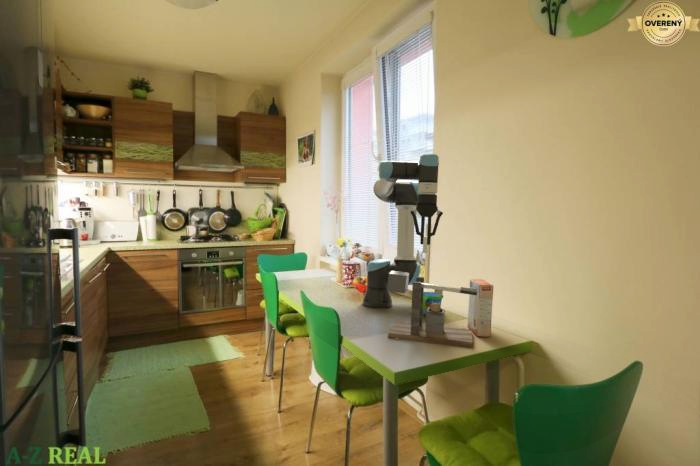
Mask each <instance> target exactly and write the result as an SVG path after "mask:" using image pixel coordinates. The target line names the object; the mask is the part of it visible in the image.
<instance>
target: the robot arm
mask: <svg viewBox="0 0 700 466" xmlns="http://www.w3.org/2000/svg"><path fill="white" fill-rule="evenodd" d="M439 161H440V160H439V156H438V155H437V154H434V153H424V154H421V155H419V160H418V161H405V160H404V161H403V160H402V161H399V160H381V161H380V162H379V166H378V180H376V181H375V182H374V185H373V193H374V195H375V197H377V199H378V200H380V201H382V202H385V203H390V204H394V207H395V208H396V209H397V234H396V235H397V241H396V243H397V244H396V246H397V247H396V256H395V257H394V259H393V261H391V260H390V259H389V258H388V259H387V258H386V259H385V258H383V259H382V258H380V259H374V260H370V261H369V262H368V263H367V269H366V273H367V275H366V290H365V294H364V295H363V299H362V305H364V306H365V307H369V308H374V309H375V308H376V309H377V308H378V309H384V308H390V307H392V306H393V299H392V295H391V291H387V286H388V276H389V273H390V272H391V271H392V270H393V271H400V272H407V273H409V281H408V286H413V282H416V277H420V275H421V267H420V266H421V265H420V263H419V262H418V261H417V258H416V257H415V255H414V253H415V252H414V251H415V234H416V235H418V236H419V237H420V245H422V254H427V253H428V246H429V245H430V244H431V237H432V236H433V237H434V236H435V235H436V232H437V229H438V225H439V222H440V219H441V217H442V216H443V214H444V213H443V211H441V210H440V209H438V205H437V204H438V195H437V193H438V184H439V181H438V180H439V165H440V162H439ZM417 213H418V214H419V216H420V218H421V220H420V222H421V223H420V227H419V223H418V218H417ZM435 214H436V219H435V221H434V225H433V230H432V218H433V216H434V215H435ZM426 218H427V235H425V223H426V222H425V221H426Z"/></svg>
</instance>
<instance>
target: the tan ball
mask: <svg viewBox="0 0 700 466" xmlns="http://www.w3.org/2000/svg"><path fill="white" fill-rule="evenodd" d="M441 306H442V305H441ZM441 306H440V305H439V304H438V303H433V304H432V305H431V307H430V309H431V311H433V312H440V310H441V309H442V307H441Z"/></svg>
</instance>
